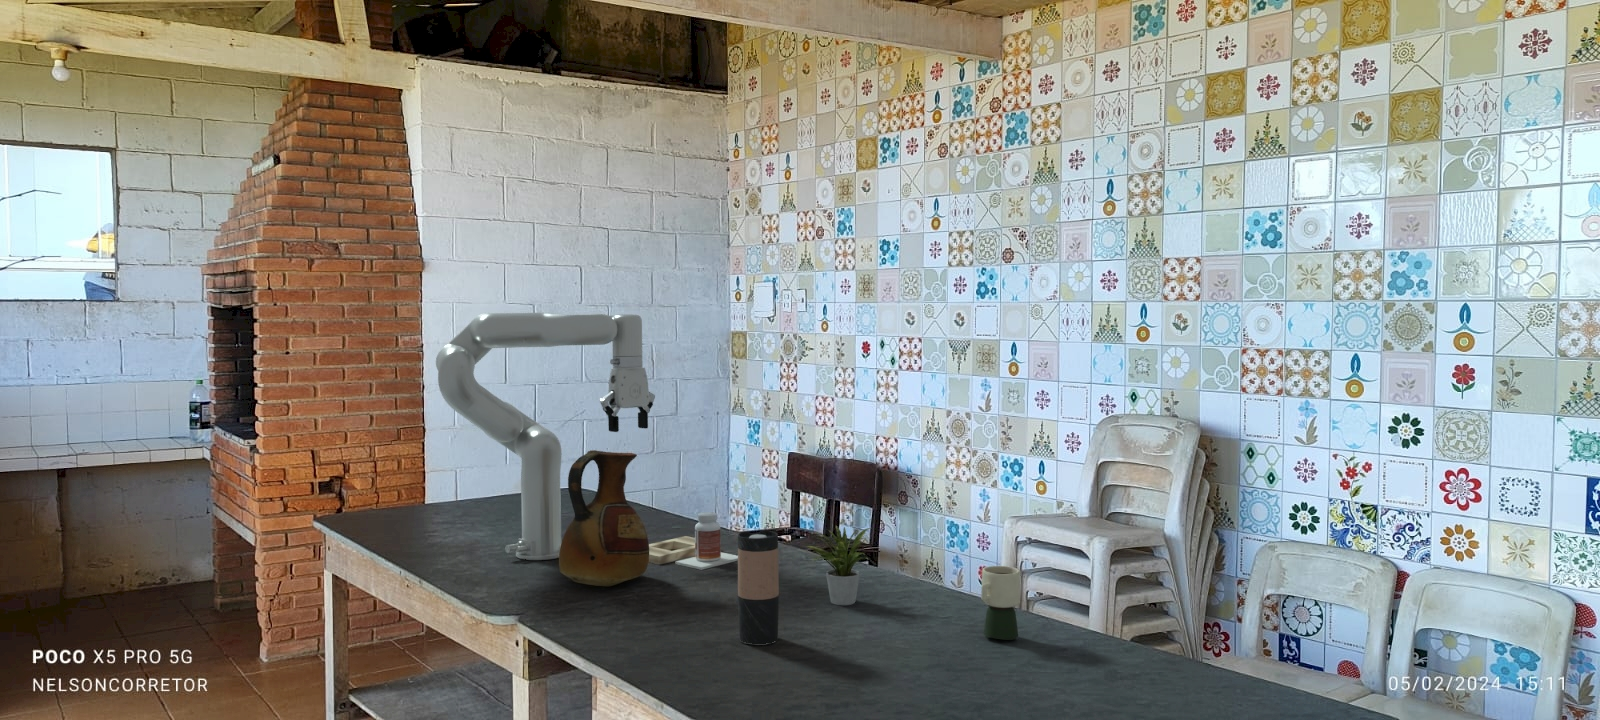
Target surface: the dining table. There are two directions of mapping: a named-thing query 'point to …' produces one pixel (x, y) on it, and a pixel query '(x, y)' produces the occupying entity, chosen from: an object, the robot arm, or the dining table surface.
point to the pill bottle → (707, 538)
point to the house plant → (842, 567)
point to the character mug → (1001, 601)
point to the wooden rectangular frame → (662, 553)
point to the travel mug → (758, 587)
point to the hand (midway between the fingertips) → (628, 429)
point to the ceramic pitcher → (603, 526)
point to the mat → (704, 565)
